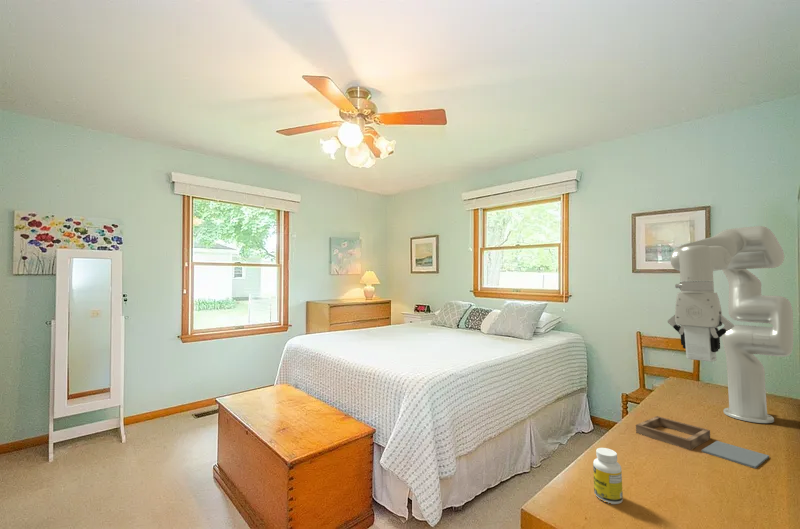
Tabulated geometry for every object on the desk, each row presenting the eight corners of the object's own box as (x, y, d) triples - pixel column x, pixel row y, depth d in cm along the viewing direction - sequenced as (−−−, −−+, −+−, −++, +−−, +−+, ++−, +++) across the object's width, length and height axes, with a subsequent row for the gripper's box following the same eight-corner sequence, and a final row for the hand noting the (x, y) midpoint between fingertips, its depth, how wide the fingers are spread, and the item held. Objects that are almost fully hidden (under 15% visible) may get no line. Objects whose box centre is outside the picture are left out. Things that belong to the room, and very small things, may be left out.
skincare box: (717, 360, 104) (714, 318, 105) (711, 362, 102) (708, 319, 102) (690, 357, 109) (688, 316, 110) (684, 358, 107) (682, 317, 107)
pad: (716, 442, 106) (716, 440, 106) (769, 457, 97) (769, 455, 97) (701, 451, 100) (701, 449, 100) (755, 468, 91) (755, 466, 91)
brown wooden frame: (657, 423, 120) (657, 416, 120) (710, 438, 108) (709, 430, 109) (636, 433, 113) (635, 424, 113) (690, 450, 101) (690, 441, 101)
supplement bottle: (588, 491, 81) (587, 446, 82) (611, 490, 82) (610, 445, 82) (604, 506, 76) (602, 457, 77) (628, 504, 76) (627, 456, 77)
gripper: (657, 287, 112) (660, 346, 111) (730, 288, 97) (734, 356, 96) (668, 287, 116) (671, 344, 115) (740, 287, 101) (744, 353, 100)
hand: (700, 349), depth 106 cm, fingers closed on skincare box, 6 cm apart
